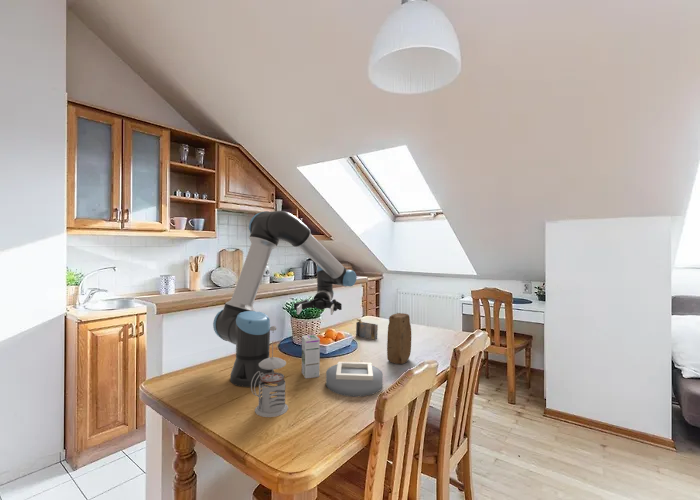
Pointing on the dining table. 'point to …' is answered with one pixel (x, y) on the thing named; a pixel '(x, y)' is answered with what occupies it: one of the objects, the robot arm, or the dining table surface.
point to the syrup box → (310, 356)
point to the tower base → (354, 379)
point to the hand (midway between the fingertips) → (314, 311)
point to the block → (399, 338)
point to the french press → (271, 388)
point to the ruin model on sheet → (366, 329)
